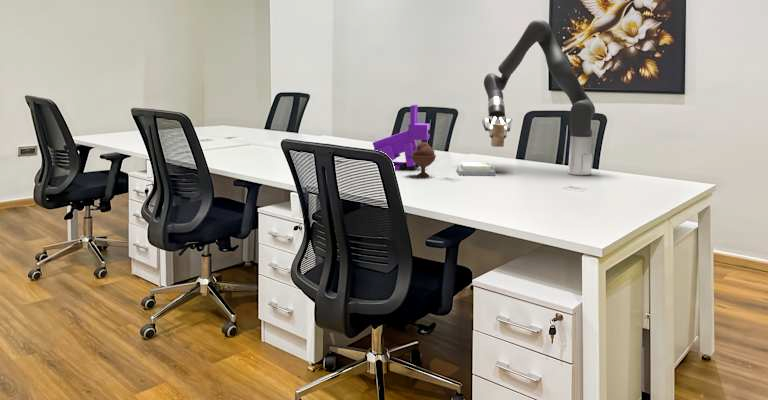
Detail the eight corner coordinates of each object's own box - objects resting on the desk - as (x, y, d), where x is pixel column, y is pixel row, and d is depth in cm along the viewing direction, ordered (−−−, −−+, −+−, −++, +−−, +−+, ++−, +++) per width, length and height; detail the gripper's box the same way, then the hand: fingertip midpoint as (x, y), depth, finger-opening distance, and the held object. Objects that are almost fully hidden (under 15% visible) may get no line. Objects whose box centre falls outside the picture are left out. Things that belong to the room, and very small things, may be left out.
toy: (427, 171, 297) (428, 106, 291) (368, 168, 303) (369, 105, 297) (431, 166, 310) (432, 104, 304) (375, 164, 316) (376, 103, 310)
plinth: (490, 170, 300) (490, 161, 299) (495, 175, 284) (495, 166, 284) (456, 169, 300) (456, 161, 300) (459, 175, 285) (459, 166, 284)
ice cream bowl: (405, 175, 283) (406, 142, 280) (423, 173, 290) (423, 140, 287) (422, 178, 275) (423, 144, 272) (440, 176, 282) (441, 142, 279)
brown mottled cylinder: (502, 145, 293) (503, 123, 291) (503, 146, 288) (504, 124, 286) (491, 145, 293) (492, 123, 291) (492, 146, 288) (493, 124, 286)
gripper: (481, 103, 294) (483, 131, 285) (513, 103, 294) (515, 132, 285) (480, 113, 301) (481, 142, 291) (510, 114, 300) (513, 142, 291)
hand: (498, 137), depth 288 cm, fingers closed on brown mottled cylinder, 5 cm apart
